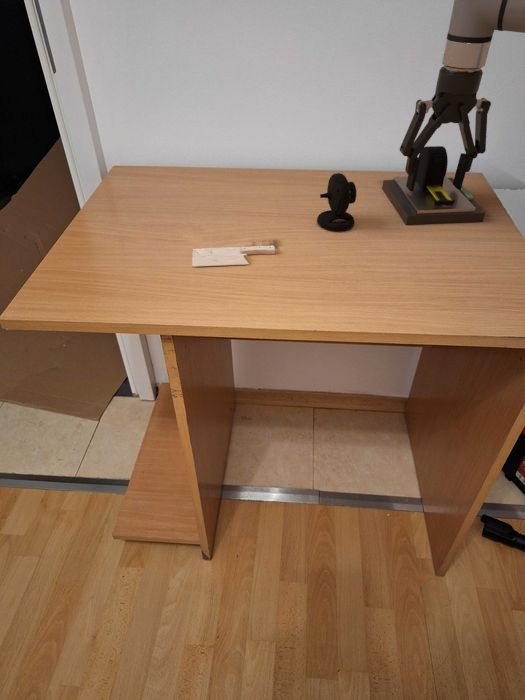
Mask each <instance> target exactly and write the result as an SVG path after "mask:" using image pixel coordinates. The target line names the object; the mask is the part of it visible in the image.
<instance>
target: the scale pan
mask: <svg viewBox="0 0 525 700" xmlns="http://www.w3.org/2000/svg"><path fill="white" fill-rule="evenodd" d="M448 178H449V177H447V176H446V175H445V177H444V182H443V187H442V188H443V190H444V191H445V192H446V193H447V195H448V196H449V197H450V199H451V201H452V200H454V199H455V201H454V203H453V205H452V206H446V205H441V206H434V200H436V199H435V198H434V196H433V195H432V193H431V192H424V191H423V190H422V189H421V187H420V185H419V184H418V182H417V181H416V182H415V186H414V191H409V189H408V188H407V187H406V184H407V179H408V176H393V177H392V180H393V181H394V183H395V184H396V186H397V187H398V188H399V190H400V191H401V193H402V194H403V195H404V197H405V198H406V200H407V201H408V202H409V204H410V205H411V207H412V208H413V210H414V211H415V212H416V214H435V213H460V212H475V210H476V208H475V207H474V206H473V205H472V204H471V202H470V201H469V200H468V199H467V198H466V197H465V196H464V195H463V194H462V193H461V192H460V191H459V190H458V189H457V188H456V187H455V186H454V185H453V183H452V182H451V181H450V180H449V179H448ZM436 201H437V200H436ZM437 202H438V201H437Z"/></svg>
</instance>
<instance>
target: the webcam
mask: <svg viewBox="0 0 525 700" xmlns="http://www.w3.org/2000/svg"><path fill="white" fill-rule="evenodd" d="M326 190H327V192H325V193H320V194H319V198H320V199H327V203H328V205H329V208H330V210H324V211H322V212H320V213H319V214H318V215H317V217H316V222H317V224H318V226H319V227H321V228H322V229H324V230H327V231H330V232H343V231H347V230H349V229H351V228H352V227H353V226H354V225H355V217H354V216H353V215H352V214H351V213H349V212H347V211H348V208H349V206H350V205H351V204H354V203H356V200H357V187H356V184H355V182H354V181H348V179H347V177H346V175H345V174H343V173H342V172H341V173H340V172H338V173H337V172H336V173H333V174H332V175H331V176H330V177H329V178H328V184H327V189H326ZM339 220H344V221H346V222H343V223H334V221H339Z"/></svg>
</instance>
